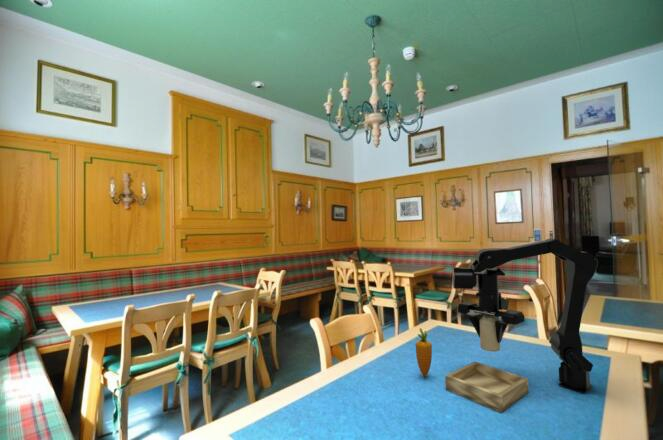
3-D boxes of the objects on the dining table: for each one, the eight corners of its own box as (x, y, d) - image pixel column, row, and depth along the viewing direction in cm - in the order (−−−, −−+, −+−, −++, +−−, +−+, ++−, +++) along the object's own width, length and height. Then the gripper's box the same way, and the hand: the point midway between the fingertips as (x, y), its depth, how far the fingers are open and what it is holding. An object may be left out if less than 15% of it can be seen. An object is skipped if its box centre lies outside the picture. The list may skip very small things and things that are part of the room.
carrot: (433, 381, 102) (432, 332, 103) (417, 380, 103) (415, 331, 104) (432, 374, 107) (430, 327, 107) (416, 373, 108) (414, 326, 108)
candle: (503, 351, 100) (502, 318, 100) (484, 351, 100) (483, 318, 100) (495, 345, 105) (494, 313, 105) (477, 345, 105) (476, 313, 106)
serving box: (528, 392, 94) (528, 378, 94) (501, 413, 84) (500, 397, 84) (475, 373, 106) (474, 361, 106) (445, 389, 97) (445, 375, 97)
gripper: (532, 290, 100) (534, 342, 100) (474, 282, 115) (476, 328, 115) (513, 295, 94) (515, 351, 93) (455, 286, 109) (457, 334, 108)
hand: (489, 340), depth 103 cm, fingers closed on candle, 5 cm apart
